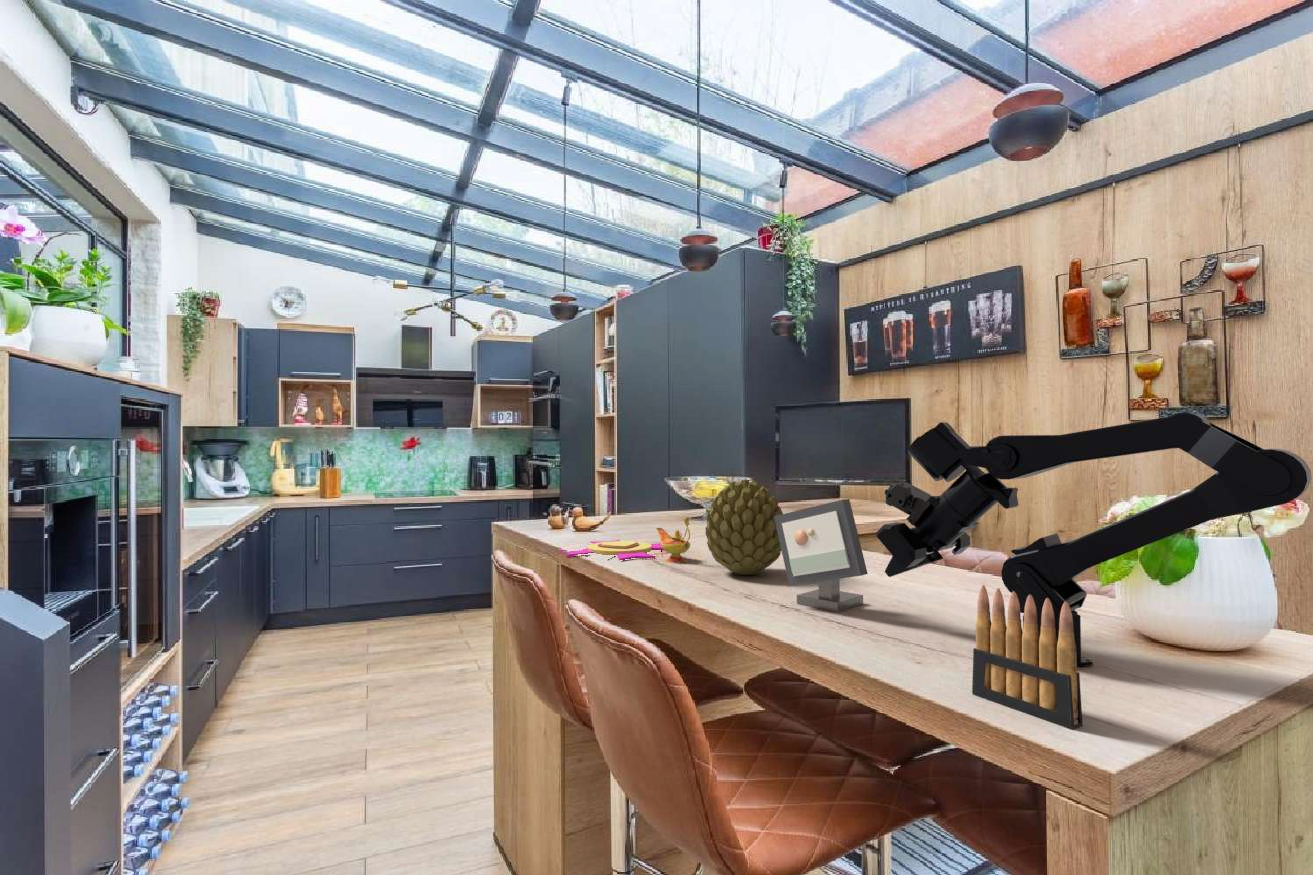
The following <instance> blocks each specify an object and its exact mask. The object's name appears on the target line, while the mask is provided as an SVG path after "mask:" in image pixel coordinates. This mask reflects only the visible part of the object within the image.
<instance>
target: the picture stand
mask: <svg viewBox="0 0 1313 875" xmlns="http://www.w3.org/2000/svg"><path fill="white" fill-rule="evenodd" d="M840 580H841V579H835V580H828V581H821V582H817V583H818V588H817V589H814V590H809V591H807V592H803V593H799V594H796V605H800V606H801V605H802V606H806V607H811V608H816V609H819V610H820V609H821V610H826V611H831V612H835V613H838V612H842V611H844V610H848V609H851V608H854V607H857V606H860V605H863V604H864V594H859V593H854V592H853V593H852V592H850V591H849V592H848V591H841V589H840V588H841V587H840Z"/></svg>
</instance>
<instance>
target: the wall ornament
mask: <svg viewBox="0 0 1313 875" xmlns="http://www.w3.org/2000/svg"><path fill="white" fill-rule="evenodd" d="M589 542H591V543H593V544H591V545H590V544H588V545H587V546H588V548H586V549H583V550H581V551H580V550H579V551H570V552H569V553H568V554H566V558H575V557H574V556H575V555H578V554H588V553H596V554H602V555H617V556H618V558H619V559H620V560H625V559H631V558H655V559H656V556H653V555H662V556H663V555H664V554H663V553H665V554H669V553H668V552H666V551H662V552H660V553H654V554H651V555H650V554H647V552H650V551H651V550H664V549H663V548H662V546H661V542H659V543H658V542H656V543H647V542H642V541H632V540H621V539H614V540H607V541H599V540H598V541H597V540H595V541H592V540H591V541H588V543H589ZM562 549H563V548H560V549H558V550H559V551H558V552H559V553H561V554H563V553H562V551H567V550H562ZM618 558H617V559H618ZM619 559H618V560H619Z"/></svg>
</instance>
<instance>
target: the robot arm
mask: <svg viewBox="0 0 1313 875" xmlns="http://www.w3.org/2000/svg"><path fill="white" fill-rule="evenodd" d="M1172 449H1179V450H1181V451H1184V452H1185V453H1186V454H1188V455H1190V456H1192V457H1193V458H1195V459H1196V460H1198V461H1200V462H1201V463H1203V464H1204V465H1205V466H1206V467H1209V468H1211V469H1212V470H1214V471H1215V472H1216V473H1214V474H1213V475H1211V476H1210V477H1208V478H1207V479H1205V480H1203V481H1202V482H1201V483H1199V484H1198V485H1197V486H1195V487H1194V488H1192V489H1191V490H1189V491H1186V492H1184V493H1182V494H1179V495H1176V496H1175V497H1172V498H1170V499H1167V500H1165V501H1163V502H1161V503H1158V504H1155V505H1153V506H1152V507H1149V508H1147V509H1144V510H1142V511H1139V512H1137V513H1134V514H1133V515H1130V516H1128V517H1125V518H1122V519H1121V520H1118V521H1116V522H1113V523H1112V524H1109V525H1106V526H1104V527H1102V528H1099V529H1098V530H1097V529H1096V530H1095V531H1093V532H1091V533H1090V532H1089V533H1088V534H1085V535H1082V536H1081V537H1079V538H1076V539H1073V540H1069V541H1064V542H1062V541H1061V539H1060V536H1059V534H1058V533H1053V534H1049V535H1046V536H1042V537H1040V538H1038V539H1036V540H1035V541H1034V542H1032V543H1031V544H1028V545H1025V546H1021V547H1018V548H1017V547H1016V548H1014V549H1011V551H1010V552H1011V553H1012V554H1014V555H1012V556H1010V557H1008V558H1006V560H1004V562H1003V563H1002V568H1001V573H1000V574H1001V580H1002V584H1003V585H1004V587H1005V588H1006V589H1007V590H1008V592H1009V593H1011V594H1012V592H1013V591H1015V593H1016V595H1017V597H1018V600H1019V605H1020V613H1021V614H1023V615H1022V628H1023V627H1024V610H1025V604H1026V600H1027V597H1028V596H1029V595H1032V597H1033V599H1034V602H1035V606H1036V612H1037V623H1038V633H1039V637H1040V634H1041V616H1042V609H1043V605H1044V602H1045V600H1046V598H1049V600H1050V601H1051V604H1052V607H1053V612H1054V618H1055V631H1056V638H1057V643H1058V638H1059V620H1060V613H1061V609H1062V606H1063V604H1064V602H1067V603H1068V604H1069V607H1070V610H1071V613H1072V619H1073V631H1074V640H1075V644H1076V657H1077V667H1081V666H1082V667H1083V666H1094V660H1091V659H1090V658H1087V657H1086V656H1085V657H1084V656H1082V633H1081V632H1082V631H1081V630H1082V629H1081V628H1082V626H1081V624H1082V623H1081V622H1082V621H1081V615H1080V614H1078V611H1076V610H1077V609H1080V608H1082V607H1083V605H1084V602H1085V601H1086V598H1087V595H1088V594H1087V591H1086V590H1085V589H1083V588H1082V587H1081V585H1080V584H1079V583H1077V581H1075V579H1076V578H1078V577H1079V576H1080V575H1082V574H1084V573H1085V572H1086V571H1088V570H1090V569H1091V568H1093V567H1095V566H1097V565H1100V564H1103V563H1105V562H1108V561H1110V560H1112V559H1116V558H1117V557H1121V556H1122V555H1125V554H1128V553H1130V552H1133V551H1136V550H1138V549H1141V548H1143V547H1145V546H1148V545H1151V544H1153V543H1154V544H1155V543H1156V542H1159V541H1161V540H1163V539H1166V538H1168V537H1169V538H1170V537H1171V536H1175V535H1176V534H1179V533H1182V532H1184V531H1186V530H1190V529H1191V528H1194V527H1196V526H1199V525H1201V524H1204V523H1206V522H1209V521H1213V520H1217V519H1221V518H1222V519H1223V518H1226V517H1227V518H1228V517H1232V516H1237V515H1240V514H1246V513H1251V512H1256V511H1259V510H1260V511H1261V510H1265V509H1269V508H1273V507H1274V508H1275V507H1277V506H1282V505H1286V504H1289V503H1290V502H1292V501H1294V500H1295V499H1297V498H1299V497H1300V496H1301V495H1303V494H1304V493H1305V492H1306V491H1307V490H1308V488H1310V485H1311V481H1312V470H1311V468H1310V467H1309V465H1308V463H1307V461H1306V460H1304V459H1303V458H1302V457H1301V456H1300V455H1298V454H1296V453H1294V452H1291V451H1290V450H1286V449H1282V448H1281V449H1280V448H1266V449H1264V448H1262V447H1260V446H1259V445H1256V444H1255V443H1253V442H1251V441H1249V440H1247V439H1245V438H1242V437H1240V436H1239V435H1237V434H1235V433H1232V432H1230V431H1228V430H1226V429H1225V428H1222V427H1220V426H1218V425H1216V424H1214V423H1212V422H1211V421H1209V420H1208V419H1207V418H1206V417H1204V416H1202V415H1201V414H1198V413H1193V412H1177V413H1173V414H1171V415H1169V416H1165V417H1159V418H1154V419H1148V420H1142V421H1141V420H1140V421H1137V422H1136V421H1135V422H1131V423H1124V424H1118V425H1111V426H1107V427H1101V428H1094V429H1088V430H1082V431H1075V432H1070V433H1064V434H1040V435H1039V434H1038V435H1037V434H1036V435H1035V434H1034V435H1033V434H1032V435H1027V434H1023V435H1021V434H1020V435H1017V434H1016V435H1012V434H1011V435H998V436H995V437H993V438H991V439H990V440H988V442H987V443H986V445H984V446H983V445H978V446H977V445H975V446H974V445H971V446H970V445H969V444H968V443H967V442H966V441H965V439H963V438H962V437H961V436H960V435H959V434H958V433H957V432H956V431H955V429H954V427H953V426H952V425H951V424H949V423H948V422H946V421H945V422H944V421H941V422H938V424H937V425H936V426H934V427H933V428H930V429H929V430H928V431H926V432H924V433H923V434H921V435H920V436H918V437H916V438H915V439H914V440H913V441H912V443H911V444H910V445H909V447H908V450H907V454H908V455H910V457H911V458H912V459H914V461H915V462H916V463H918V464H919V465H920V467H921V468H922V469H923V470H924V471H925V472H926V473H927V474H928V476H930V477H931V478H932V480H934V481H935V482H939V481H943V480H944V481H945V482H946V483H949V482H952V481H953V482H952V483H951V484H950V486H949V487H947V489H945V490H944V491H943V492H942V493H941V494H940V495H932V494H930V493H928V492H926V491H925V490H923V489H920V488H919V487H917V486H915V485H913V484H911V483H908V482H903V481H902V482H893V483H891V484H890V485H889V487H888V488H886V489H885V490H884V495H885V501H884V503H885V504H886V505H887V506H889V507H894V508H896V509H898V510H899V511H901V512H903V513H904V514H906V515H908V516H907V518H906V520H907V521H908V522H909V523H910V525H911V526H913V527H909V526H908V525H907V523H905V522H890V523H884V524H883V525H882V526H881V527H880V528H879V529H878V530H877V531H876V532H875V535H876V538H878V540H879V542H881V543H882V544H881V545H883V546H884V547H885V548H886V550H887V551H888V552H889V553H890V554H891V556H892V557H891V558H890V560H889V562H888V564H887V566H886V568H885V569H884V573H885V574H886V576H887V577H889V578H891V577H895V576H897V575H899V574H903V573H906V572H909V571H912V570H915V569H919V568H921V567H923V566H927V565H930V564H933V563H935V562H939V561H941V560H943V559H944V557H943V555H942V554H941V553H940V552H939V551H944V550H949V549H952V548H953V549H952V551H951V553H952V555H953V556H956V555H959V554H963V552H965V551H966V550H967V549H968V548H969V547H970V546H971V536H970V535H969V534H968V533H967V531H971V530H974V528H976V527H977V526H978V523H977V521H979V520H980V519H981V518H982V517H983V516H984V515H985V514H987V512H989V511H990V510H991V509H992V508H993V507H994V506H995V505H996V504H997V503H999V504H1000V506H1001V507H1002V508H1003V509H1005V510H1009V509H1014V508H1017V507H1018V506H1019V500H1018V491H1019V489H1018V487H1016V486H1013V487H1008V486H1006V485H1005V484H1004V483H1003V482H1002V481H1001V480H1005V481H1006V480H1016V479H1025V478H1030V477H1033V476H1036V475H1040V474H1044V473H1046V472H1049V471H1052V470H1055V469H1058V468H1061V467H1064V466H1066V465H1067V466H1068V465H1071V464H1074V463H1081V462H1086V461H1095V460H1101V459H1109V458H1115V457H1117V458H1118V457H1123V456H1130V455H1131V456H1132V455H1139V454H1144V453H1146V454H1147V453H1152V452H1159V451H1166V450H1167V451H1168V450H1172ZM981 468H982V469H985V470H986V471H987V472H985V471H983V470H982V469H981ZM955 479H956V480H955ZM954 480H955V481H954ZM954 546H955V547H954Z"/></svg>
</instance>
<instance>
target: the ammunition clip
mask: <svg viewBox="0 0 1313 875" xmlns="http://www.w3.org/2000/svg"><path fill="white" fill-rule="evenodd" d="M994 592H995V593H994V595H993V599H992V600H993V601H992V614H991V609H990V608H991V607H990V606H991V605H990V598H989V594H988V590H987V588H986V586H985V584H984V585H982V586H981V587H980V589H979V593H978V597H977V598H978V599H977V615H976V622H975V648H973V649H972V656H973V657H972V663H973V664H972V680H971V681H972V682H971V683H972V684H971V685H972V688H971V689H972V690H971V693H972V695H973V696H976V697H978V698H980V699H983V700H987V701H989V702H993V703H996V704H999V705H1001V706H1003V707H1006V708H1009V709H1012V710H1015V711H1017V712H1021V713H1023V714H1025V715H1029V716H1032V717H1034V718H1037V719H1040V720H1043V721H1046V722H1048V723H1051V724H1054V725H1057V726H1059V727H1062V728H1066V729H1068V730H1075V729H1077V728H1080V727H1082V726H1084V725H1083V711H1082V710H1083V709H1082V707H1083V706H1082V698H1081V697H1082V695H1081V680H1080V679H1081V678H1080V677H1081V676H1080V675H1081V674H1080V672H1078V670H1077V669H1078V666H1077V657H1076V644H1075V640H1074V631H1073V619H1072V613H1071V610H1070V607H1069V604H1068V603H1067V602H1064V604H1063V606H1062V609H1061V613H1060V620H1059V638H1058V643H1057V638H1056V631H1055V618H1054V612H1053V607H1052V604H1051V601H1050V600H1049V598H1046V600H1045V602H1044V605H1043V609H1042V616H1041V634H1040V637H1039V633H1038V623H1037V612H1036V606H1035V602H1034V599H1033V597H1032V595H1029V596H1028V597H1027V600H1026V604H1025V610H1024V613H1023V615H1024V627H1023V626H1022V618H1021V614H1022V613H1020V605H1019V600H1018V597H1017V595H1016V593H1015V591H1013V592H1012V593H1011V594H1010V597H1009V600H1008V606H1007V620H1006V610H1005V601H1004V597H1003V593H1002V591H1001V589H1000V587H998V588H996V590H995V591H994ZM1006 621H1007V622H1006Z"/></svg>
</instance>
